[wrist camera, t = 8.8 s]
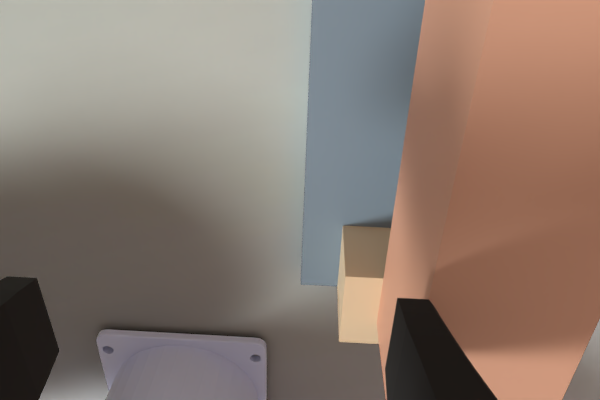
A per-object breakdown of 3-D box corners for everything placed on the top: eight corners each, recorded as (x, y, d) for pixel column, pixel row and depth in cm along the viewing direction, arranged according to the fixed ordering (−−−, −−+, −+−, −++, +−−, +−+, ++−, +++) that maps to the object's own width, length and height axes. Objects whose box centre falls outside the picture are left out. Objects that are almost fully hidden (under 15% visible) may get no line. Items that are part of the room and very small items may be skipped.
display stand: (514, 280, 21) (550, 353, 18) (301, 269, 21) (296, 339, 18) (670, -201, 13) (797, -240, 9) (321, -211, 13) (319, -252, 10)
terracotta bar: (478, 329, 17) (529, 471, 13) (376, 323, 17) (393, 462, 13) (627, -176, 10) (857, -239, 6) (452, -182, 10) (546, -246, 6)
